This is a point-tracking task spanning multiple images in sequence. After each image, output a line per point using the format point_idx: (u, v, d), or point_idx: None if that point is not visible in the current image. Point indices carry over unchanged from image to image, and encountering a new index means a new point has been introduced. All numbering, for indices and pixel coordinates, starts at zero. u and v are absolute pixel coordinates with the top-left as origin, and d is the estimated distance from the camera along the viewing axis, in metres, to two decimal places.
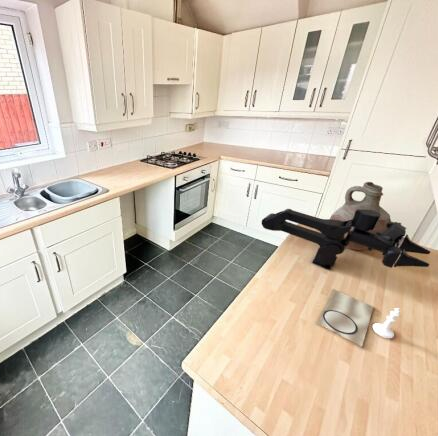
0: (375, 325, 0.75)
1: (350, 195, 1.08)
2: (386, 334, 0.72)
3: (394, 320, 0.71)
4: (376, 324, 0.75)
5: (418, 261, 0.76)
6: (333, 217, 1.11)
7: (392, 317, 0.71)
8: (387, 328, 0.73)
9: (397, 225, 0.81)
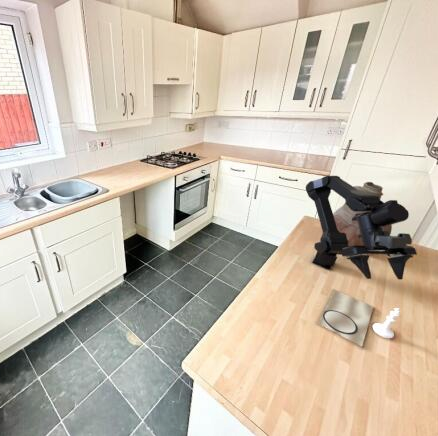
0: (375, 325, 0.75)
1: None
2: (386, 334, 0.72)
3: (394, 320, 0.71)
4: (376, 324, 0.75)
5: (365, 270, 0.75)
6: None
7: (392, 317, 0.71)
8: (387, 328, 0.73)
9: (398, 239, 0.70)
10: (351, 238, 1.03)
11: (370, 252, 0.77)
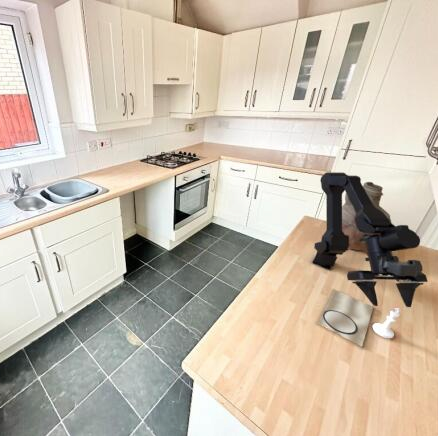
0: (375, 325, 0.75)
1: None
2: (386, 334, 0.72)
3: (394, 320, 0.71)
4: (376, 324, 0.75)
5: (372, 296, 0.72)
6: None
7: (392, 317, 0.71)
8: (387, 328, 0.73)
9: (408, 267, 0.66)
10: (351, 238, 1.03)
11: (377, 277, 0.73)
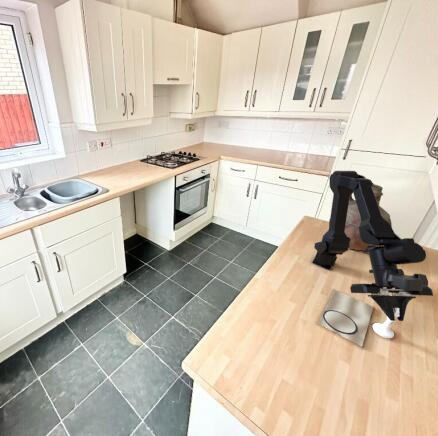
0: (375, 325, 0.75)
1: (350, 195, 1.08)
2: (386, 334, 0.72)
3: None
4: (376, 324, 0.75)
5: (389, 311, 0.70)
6: None
7: None
8: (387, 328, 0.73)
9: (413, 281, 0.65)
10: (351, 238, 1.03)
11: None
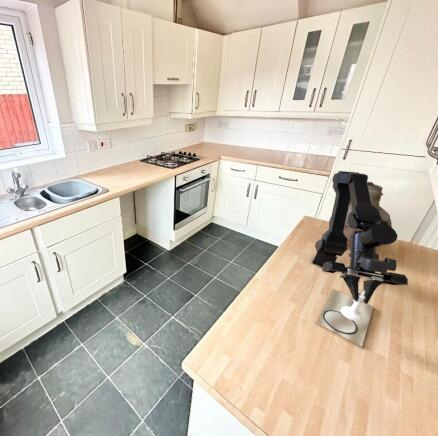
0: (344, 307, 0.76)
1: None
2: (351, 315, 0.73)
3: (360, 302, 0.71)
4: (346, 307, 0.76)
5: (353, 292, 0.71)
6: None
7: None
8: (353, 310, 0.73)
9: (377, 262, 0.65)
10: (351, 238, 1.03)
11: None
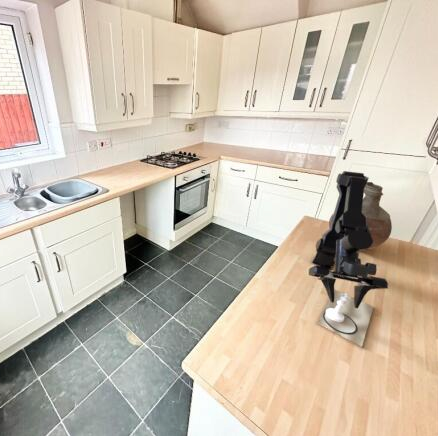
0: (329, 309, 0.80)
1: None
2: (335, 317, 0.77)
3: (342, 304, 0.75)
4: (330, 308, 0.80)
5: (330, 293, 0.75)
6: None
7: (340, 302, 0.75)
8: (337, 312, 0.77)
9: (358, 267, 0.69)
10: None
11: (336, 276, 0.76)
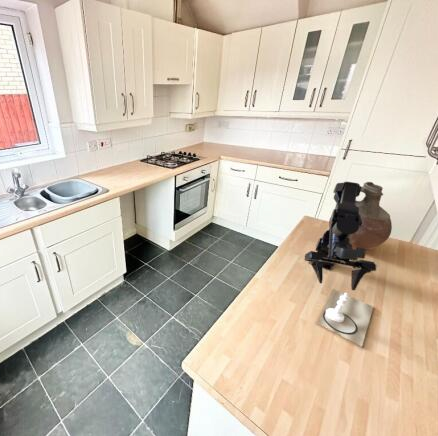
0: (329, 309, 0.80)
1: None
2: (335, 317, 0.77)
3: (342, 304, 0.75)
4: (330, 308, 0.80)
5: (318, 275, 0.83)
6: None
7: (340, 302, 0.75)
8: (337, 312, 0.77)
9: (348, 251, 0.76)
10: (351, 238, 1.03)
11: (329, 260, 0.83)
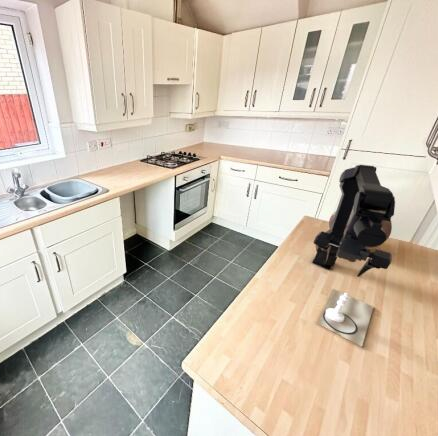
0: (329, 309, 0.80)
1: None
2: (335, 317, 0.77)
3: (342, 304, 0.75)
4: (330, 308, 0.80)
5: (323, 256, 0.82)
6: (333, 217, 1.11)
7: (340, 302, 0.75)
8: (337, 312, 0.77)
9: (345, 253, 0.70)
10: None
11: None
